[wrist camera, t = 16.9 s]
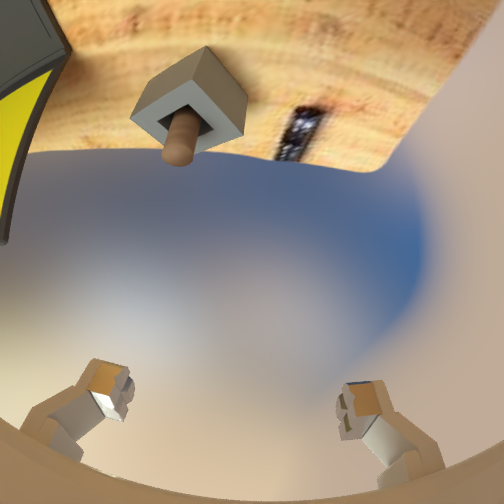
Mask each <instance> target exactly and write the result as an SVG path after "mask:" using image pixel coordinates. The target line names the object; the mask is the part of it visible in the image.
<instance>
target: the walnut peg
mask: <svg viewBox="0 0 504 504" xmlns="http://www.w3.org/2000/svg"><path fill="white" fill-rule="evenodd" d="M201 121H202V117H201V116H200V115H199V114H198V113H197V112H196V111H195V110H194V109H193V108H192V107H191V106H190V105H189V104H187V105H185V106H183V107H181V108H179V109H177V110H176V111H175V113H174V116H173V119H172V122H171V125H170V128H169V131H168V135H167V138H166V141H165V144H164V147H163V151H162V158H163V160H164V161H165V162H166V163H168V164H170V165H173V166H187V165H189V164H190V163H191V162H192V161H193V156H194V152H195V147H196V143H197V138H198V134H199V130H200V125H201Z"/></svg>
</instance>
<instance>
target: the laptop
mask: <svg viewBox="0 0 504 504" xmlns="http://www.w3.org/2000/svg"><path fill="white" fill-rule="evenodd" d="M71 50H72V49H71V47H70V45H69V43H68V41H67V40H66V38H65V36H64V34H63V32H62V30H61V28H60V26H59V25H58V23H57V21H56V19H55V17H54V15H53V13H52V11H51V9H50V7H49V5H48V3H47V1H46V0H0V246H3V245H6V244H7V242H8V239H9V231H10V225H11V219H12V213H13V208H14V203H15V198H16V194H17V189H18V185H19V181H20V177H21V173H22V170H23V166H24V163H25V160H26V156H27V153H28V150H29V147H30V144H31V141H32V138H33V135H34V133H35V130H36V127H37V125H38V122H39V120H40V117H41V115H42V112H43V110H44V107H45V105H46V103H47V101H48V98H49V96H50V94H51V92H52V90H53V88H54V86H55V84H56V82H57V80H58V78H59V76H60V74H61V72H62V70H63V68H64V66H65V65H66V63H67V61H68V59H69V58H70V57H71V53H70V51H71Z"/></svg>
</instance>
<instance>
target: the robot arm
mask: <svg viewBox="0 0 504 504" xmlns="http://www.w3.org/2000/svg"><path fill="white" fill-rule="evenodd" d="M129 373H130V371H129V369H128V367H126V366H122V365H118V364H114V363H110V362H106V361H103V360H99V359H95V358H94V359H92V360H91V361H90V362H89V364H88V365H87V367H86V369H85V371H84V372H83V374H82V376H81V377H80V379H79V381H78V382H77V384H76V386H70V387H69V388H67V389H65V390H63V391H62V392H60V393H58V394H56V395H54V396H52V397H51V398H49V399H47V400H45V401H43V402H42V403H40V404H38V405H36V406H34V407H32V409H31V410H30V412H29V414H28V416H27V417H26V419H25V421H24V422H23V424H22V426H21V428H20V430H18V429H17V428H15V427H13V426H12V425H10V424H9V423H7V422H6V421H5V420H3V419H2V418H0V504H504V440H503V441H501V442H499V443H497V444H496V445H494V446H492V447H491V448H489V449H486V450H485V451H483V452H481V453H479V454H477V455H475V456H473V457H471V458H468V459H466V460H464V461H462V462H460V463H458V464H455V465H453V466H450V467H448V468H446V467H445V464H444V461H443V459H442V455H441V452H440V450H439V447H438V444H437V442H435V440H433V439H432V438H431V437H429V436H428V435H427V434H425V433H424V432H423V431H422V430H420V429H419V428H418V427H417V426H415V425H414V424H413V423H412V422H410V421H409V420H408V419H407V418H405V417H404V416H403V415H402V414H400V413H399V412H395V411H394V408H393V405H392V402H391V400H390V397H389V394H388V391H387V389H386V386H385V383H384V381H383V380H377V381H363V382H352V383H345V384H344V385H343V387H342V392H343V393H342V394H340V395H339V397H338V399H337V402H336V414H337V418H338V419H339V420H340V421H341V423H340V425H339V431H340V437H341V440H353V439H362V441H363V442H364V443H365V444H366V445H367V447H368V448H369V449H370V450H371V451H372V452H373V453H374V454H375V455H376V456H377V458H378V459H379V460H380V461H381V462H382V463H383V464H384V465H385V466H386V467H387V469H386V470H385V471H384V472H383V473H382V474H381V475H379V477H378V478H377V482H378V487H379V489H378V490H374V491H369V492H365V493H359V494H353V495H347V496H341V497H334V498H325V499H315V500H303V501H279V502H278V501H277V502H276V501H273V502H271V501H270V502H269V501H268V502H266V501H265V502H264V501H240V500H227V499H217V498H209V497H201V496H195V495H189V494H183V493H178V492H173V491H168V490H163V489H160V488H155V487H151V486H147V485H144V484H140V483H136V482H133V481H129V480H127V479H123V478H120V477H117V476H114V475H112V474H109V473H106V472H103V471H100V470H98V469H95V468H93V467H90V466H88V465H85V464H83V463H80V461H81V458H82V456H83V453H84V452H83V449H82V448H81V447H80V446H79V445H78V444H77V443H76V441H77V440H78V439H80V438H81V437H82V436H84V435H85V434H86V433H87V432H89V431H90V430H91V429H92V428H94V427H95V426H96V425H97V424H99V423H100V422H101V421H102V420H104V419H105V417H106V418H110V419H114V420H117V421H121V422H124V419H125V417H126V414H127V412H128V407H127V404H128V403H129V402H131V401H132V399H133V396H134V391H135V386H134V382H133V380H132V379H131V378H130V377H129Z"/></svg>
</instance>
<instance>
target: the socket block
mask: <svg viewBox="0 0 504 504" xmlns="http://www.w3.org/2000/svg"><path fill="white" fill-rule="evenodd" d="M247 101H248V96H247V95H246V93H245V92H244V91H243V89H242V88H241V87H240V86H239V84H238V83H237V82H236V81H235V79H234V78H233V77H232V76H231V74H230V73H229V72H228V71H227V70H226V68H225V67H224V66H223V65H222V64H221V62H220V61H219V60H218V59H217V58H216V57H215V55H214V54H213V53H212V52H211V51H210V50H209V49H208V47H207V46H205V47H203V48H201V49H199V50H198V51H196V52H194V53H192V54H191V55H189V56H187V57H185V58H184V59H182V60H180V61H179V62H177V63H176V64H174V65H172V66H171V67H169V68H168V69H166V70H165V71H163V72H162V73H160V74H159V75H157V76H156V77H154V78H153V79H151V80H150V81H149V82H148V84H147V85H146V87H145V89H144V91H143V93H142V95H141V97H140V98H139V100H138V102H137V104H136V106H135V108H134V110H133V112H132V114H131V116H130V118H129V119H131V120H132V121H133V122H135V123H136V124H137V125H138V126H140V127H141V128H142V129H143V130H145V131H146V132H147V133H149V134H150V135H151V136H152V137H154V138H155V139H156V140H157V141H159V142H160V143H161V144H162V145H164V144H165V141H166V138H167V135H168V131H169V128H170V125H171V122H172V119H173V116H174V113H175V111H176V110H177V109H179V108H181V107H183V106H185V105H187V104H189V105H190V106H191V107H192V108H193V109H194V110H195V111H196V112H197V113H198V114H199V115H200V116H201V117H202V121H201V125H200V130H199V134H198V138H197V143H196V147H195V152H194V154H197V153H199V152H202V151H204V150H207V149H209V148H212V147H214V146H217V145H219V144H222V143H225V142H227V141H230V140H233V139H235V138H238V137H241V136H243V135H244V127H245V118H246V110H247Z"/></svg>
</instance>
